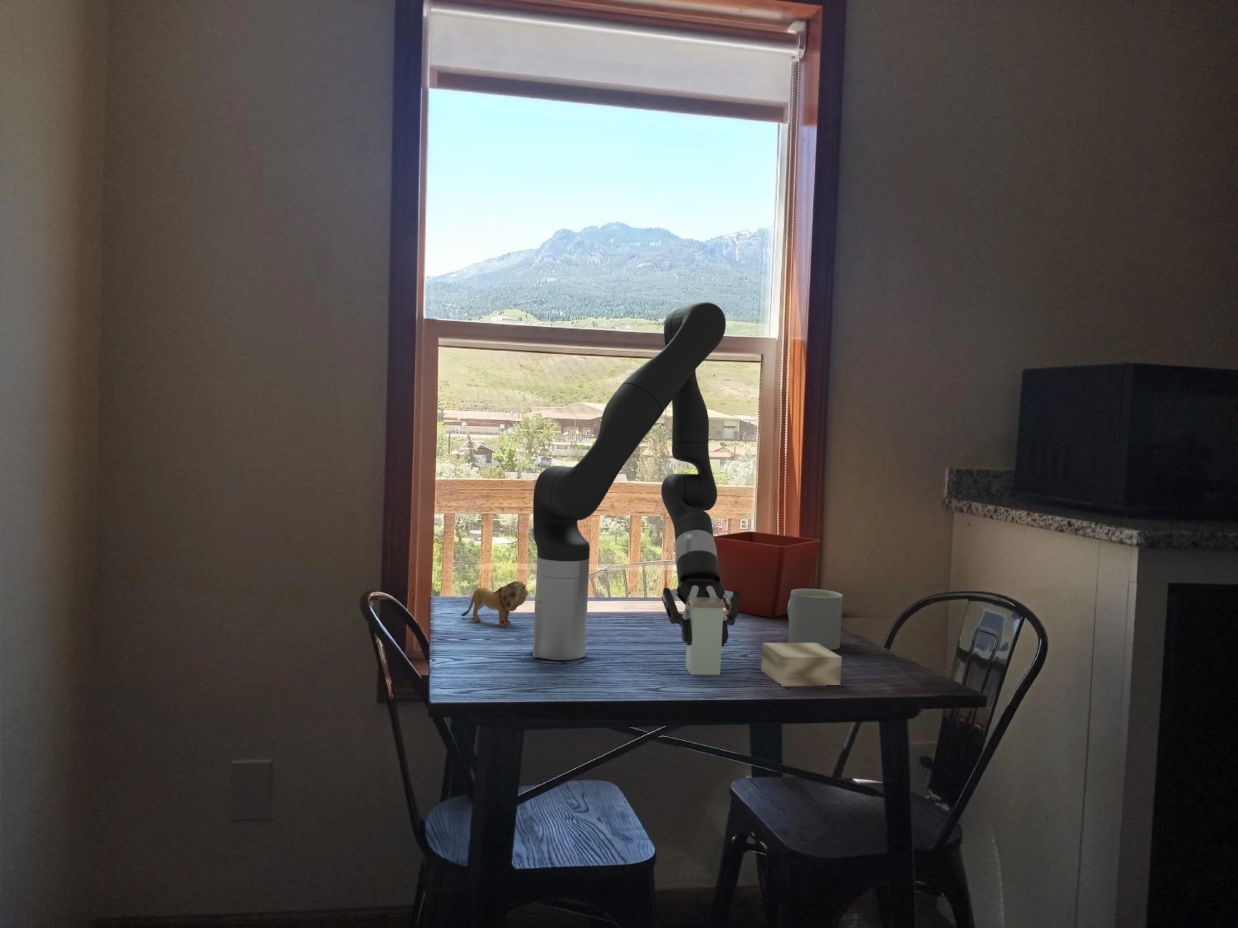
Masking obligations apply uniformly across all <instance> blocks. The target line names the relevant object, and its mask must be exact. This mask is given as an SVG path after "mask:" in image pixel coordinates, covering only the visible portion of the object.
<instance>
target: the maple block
mask: <svg viewBox="0 0 1238 928" xmlns="http://www.w3.org/2000/svg"><path fill="white" fill-rule="evenodd" d="M761 644H762V645H761V664H760V666H761V667H760V671H761V672H763V673H764V674H765V675H767V676H768V677H770V678H771V679H772V680H773V681H775V682H776V681H777V682H776V683H777V684H779V683H780V684H781V685H780V684H779V685H780V686H781V687H823V686H824V687H826V685H840V686H841V677H842V676H841V675H842V659H843V658H842V656H840V655H839V654H837V653H836V652H834V651H832V650H829V649H827V648H825V647H823V646H822V645H820V644H818V643H788V642H762V643H761ZM822 685H823V686H822Z"/></svg>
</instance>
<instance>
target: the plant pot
mask: <svg viewBox="0 0 1238 928" xmlns="http://www.w3.org/2000/svg"><path fill="white" fill-rule="evenodd" d="M713 537H714V542H715V545H716V550H717V556H718V564H719V572H720V579H721V584H722V586H723V587H724V589H725V590H726V591H730V592H733V591H734V590H739V591H740V598H739V606H738V612H739V613H743V614H744V613H745V614H749V615H756V616H762V617H767V618H778V617H780V616H785V615H788V603H789V600H790V597H791V591H792V590H795V589H809V588H808V587H809V585H810V581H811V579H812V575H813V572H814V569H815V565H816V562H817V558H818V554H819V548H820V544H821V540H820V539H816V538H808V537H801V536H792V535H786V534H777V533H776V534H775V533H769V532H768V533H767V532H760V531H748V530H747V531H741V532H734V533H733V532H732V533H728V534H727V533H726V534H720V535H713ZM722 601H723V602H724V603H725V608H724V609H726V610H727V611H729V609H730V605H728V603H727V601H726V599H725V598H724V597H723V598H722Z"/></svg>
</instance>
